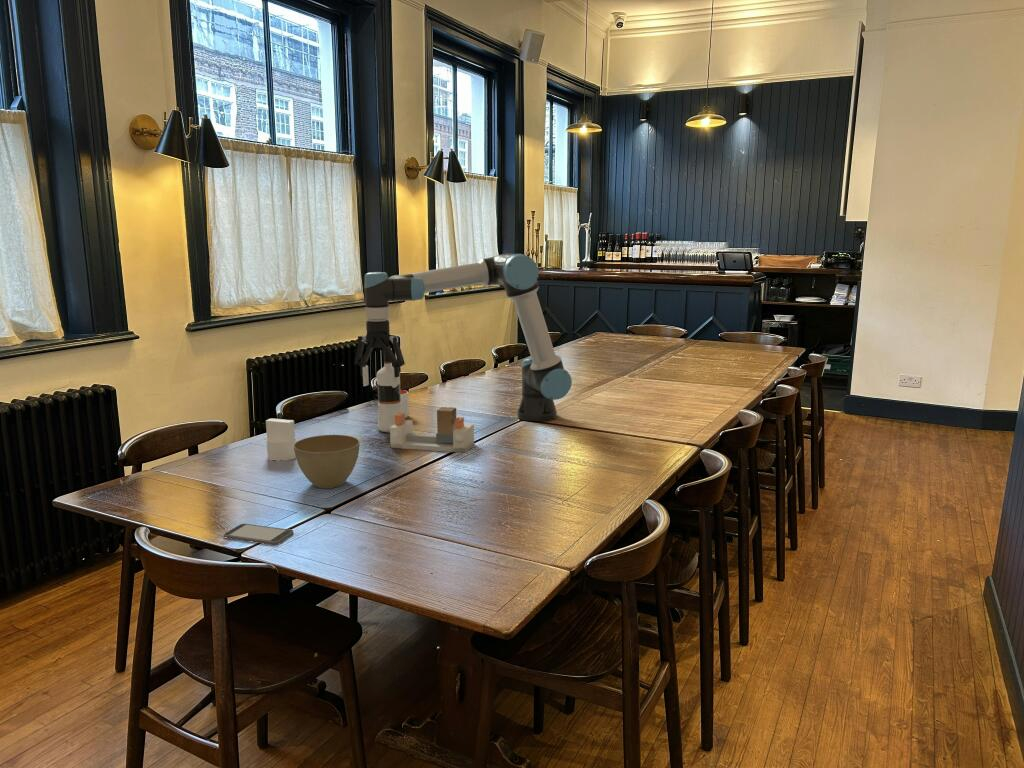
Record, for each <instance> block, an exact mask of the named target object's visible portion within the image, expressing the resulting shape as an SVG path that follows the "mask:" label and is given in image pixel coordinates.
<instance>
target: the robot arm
mask: <svg viewBox="0 0 1024 768" xmlns="http://www.w3.org/2000/svg"><path fill="white" fill-rule="evenodd" d="M538 278H539V268H538V265H537V263H536V262H535V260H534V259H533V258H532V257H530V256H528V255H527V254H525V253H524V254H523V253H510V252H506V253H502V254H498V255H495V256H492V257H486V258H481V259H480V260H479V261H478V262H475V263H474V262H473V263H468V264H463V265H457V266H456V265H454V266H449V267H444V268H443V267H442V268H436V269H430V270H423V271H419V272H412V273H405V274H401V275H400V274H395V275H392V276H388V273H387V272H385V271H384V272H381V271H373V272H367V273H365V274H364V286H363V287H364V303H365V304H364V305H365V319H366V322H365V327H366V329H365V330H366V335H363V334H361V335H358V336H357V343H358V344H357V348H356V353H355V358H354V365H357V366H359V369H360V370H359V371H360V372H359V374H360V377H361V376H362V384H363V386H362V387H366V386H369V385H370V381H369V379H370V378H369V365H367V364H368V363H367V362H368V360H369V358H370V356H371V354H372V352H373V350H374V349H377V348H378V349H382V350H383V352H384V351H385V352H386V354H387V356H388V357H389V359H390V361H391V364H392V367H393V368H392V388H395V387H397V386H398V384H397V377H399V376H400V377H401V372H400V371H401V370H400V367H403V366H404V365H405V364H406V362H405V359H404V355H403V352H402V349H401V346H400V337H399V336H398V335H395V336H392V335H391V334H390V332H391V331H390V328H391V327H390V320H389V318H390V311H389V310H390V309H389V302H397V301H398V302H402V301H405V302H406V301H409V302H410V301H413V302H415V301H420V300H423V299H424V298H425V294H427V293H433V292H438V291H444V290H451V289H456V288H457V289H458V288H463V287H469V286H475V285H481V284H482V285H483V286H485V287H486V286H494V285H496V286H503V288H504V291H505V293H506V296H507V298H508V299H510V300H512V301H513V304H514V307H515V310H516V313H517V316H518V320H519V323H520V326H521V329H522V332H523V335H524V338H525V342H526V345H527V348H528V351H529V354H530V358H524V359H523V360H522V362H521V399H520V402H519V405H518V409H517V417H518V419H520V420H523V421H528V422H547V421H552V420H554V419H556V418H557V415H558V411H557V407H556V405H555V404H556V403H555V402H554V400H555V401H556V400H560V399H562V398H564V397H566V396H567V395H568V393H569V392H570V390H571V389H572V384H573V379H572V376H571V374H570V373H569V371H567V370H566V369H565V367H564V363H563V361H562V358H561V356H559V355H557V354H556V352H555V349H554V346H553V343H552V339H551V335H550V333H549V330H548V326H547V323H546V319H545V317H544V316H545V315H544V314H543V310H542V307H541V303H540V300H539V297H538V295H537V294H538V293H537V292H538V291H539V288H540V286H539V285H540V284H539V282H538ZM366 341H367V342H368V344H367V347H366V350H365V352H364V347H365V343H366ZM390 341H391V343H392V347H393V350H394V352H393V350H392V348H391V345H390ZM394 353H395V354H394Z"/></svg>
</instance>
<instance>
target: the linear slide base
mask: <svg viewBox="0 0 1024 768" xmlns="http://www.w3.org/2000/svg"><path fill="white" fill-rule="evenodd" d="M474 424H475V423H465V419H464V416H458V417H456V419H455V430H454V431H453V443H440V442H436V434H426V433H425V434H423V433H414V432H413V429H414V427H413V425H414V424H413V420H412V419H411V420H409V419H407V420H406V419H405V422H403V423H402V424H400V425H399V424H394V425H393V426H391V427H390V433H389V435H390V436H389V439H390V440H389V441H390V442H389V444H390V448H392V449H406V450H408V449H409V450H420V451H434V452H435V451H436V452H449V453H467V452H468V451H469V450H470V449H471V448H472V447H473V446H474V445H475V425H474Z"/></svg>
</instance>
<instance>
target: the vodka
mask: <svg viewBox="0 0 1024 768" xmlns="http://www.w3.org/2000/svg"><path fill="white" fill-rule="evenodd" d="M383 363H384V364H383V365H384V366H383V367H382V368H380V369H379V370H378V371H377V372H376V380H377V381H376V384H377V399H378V402H377V405H378V407H377V409H378V416H377V417H378V420H377V430H378V431H380V432H381V433H389V434H390V427H391V426H393V425H394V424H395V418H394V415H396V414H398V413H401V402H400V401H401V396H400V390H401V378H400V377H401V375H400V376H399V377H397V384H398V386H397V387H395V388H392V368H393V367H394V366H393V365H392V363H391V361H390V359H389V357H388V356H387V354H386V352H385V351H384V350H383Z"/></svg>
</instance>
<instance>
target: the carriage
mask: <svg viewBox="0 0 1024 768" xmlns="http://www.w3.org/2000/svg"><path fill="white" fill-rule="evenodd" d="M455 419H457V407H450V406H449V407H448V406H441V407H439V408H438V409H436V422H437V423H436V425H437V426H436V429H437V430H436V431H437V432H436V434H435V435H436V442H440V443H453V431H454V430H455Z"/></svg>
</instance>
